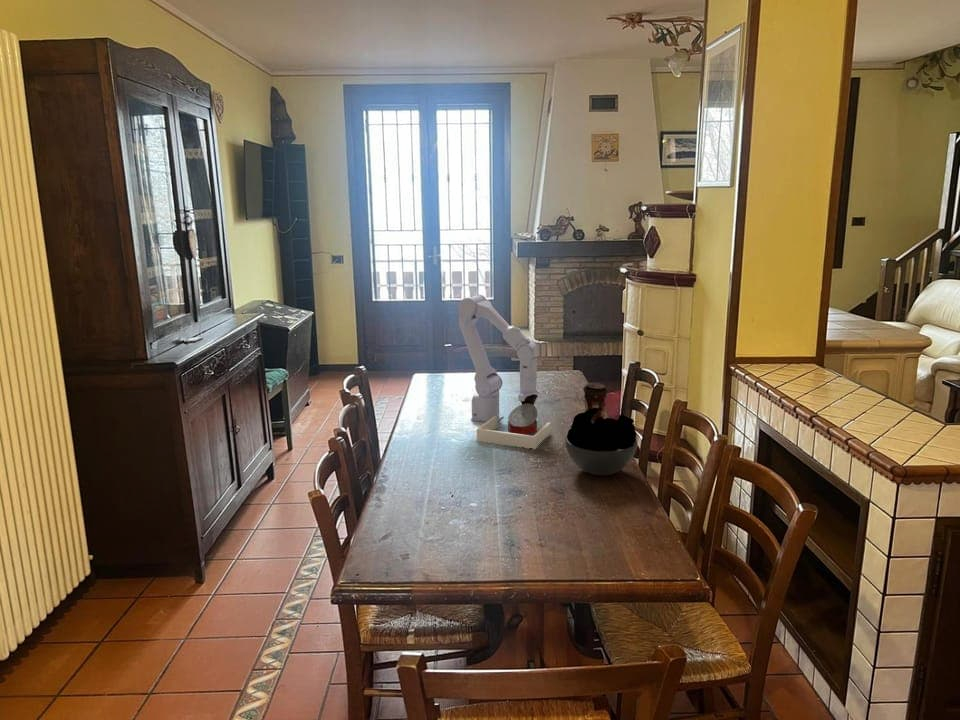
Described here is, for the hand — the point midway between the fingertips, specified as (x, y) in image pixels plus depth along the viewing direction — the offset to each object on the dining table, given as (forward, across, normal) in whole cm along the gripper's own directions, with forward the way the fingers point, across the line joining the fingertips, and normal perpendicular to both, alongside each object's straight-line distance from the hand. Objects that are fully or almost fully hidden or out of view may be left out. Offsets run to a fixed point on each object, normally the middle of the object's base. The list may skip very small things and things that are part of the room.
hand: (528, 415), depth 232 cm
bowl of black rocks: (+4, -31, -33) cm, 45 cm away
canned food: (+4, -6, 0) cm, 7 cm away
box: (+3, -13, 0) cm, 13 cm away
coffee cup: (+4, +13, -20) cm, 24 cm away
